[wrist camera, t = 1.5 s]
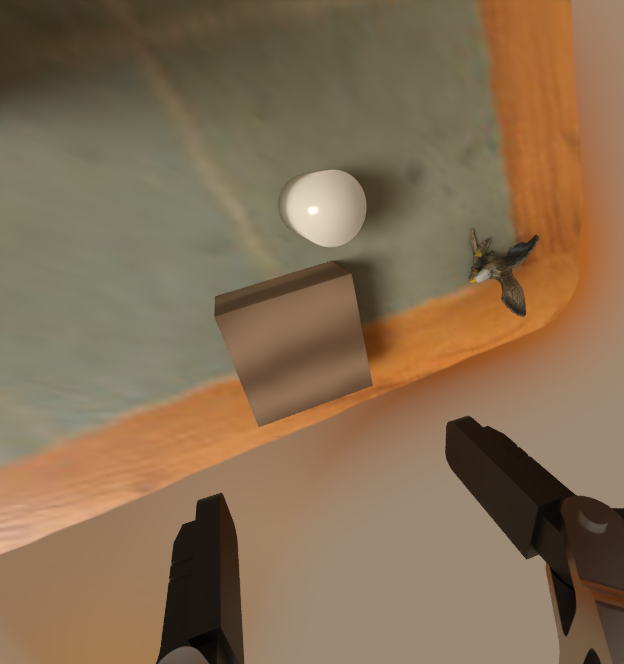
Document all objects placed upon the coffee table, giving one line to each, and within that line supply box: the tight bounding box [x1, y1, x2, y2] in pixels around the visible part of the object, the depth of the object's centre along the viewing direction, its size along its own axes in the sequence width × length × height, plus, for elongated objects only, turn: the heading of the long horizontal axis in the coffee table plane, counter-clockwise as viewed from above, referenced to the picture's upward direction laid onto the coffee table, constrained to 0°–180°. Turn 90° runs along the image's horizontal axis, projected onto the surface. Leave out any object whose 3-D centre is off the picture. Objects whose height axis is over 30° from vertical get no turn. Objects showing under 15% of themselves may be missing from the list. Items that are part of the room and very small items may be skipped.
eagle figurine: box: [469, 229, 539, 317], centre depth 34 cm, size 8×7×9 cm
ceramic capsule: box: [278, 170, 367, 247], centre depth 27 cm, size 5×5×8 cm
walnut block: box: [214, 261, 373, 427], centre depth 33 cm, size 12×12×6 cm
